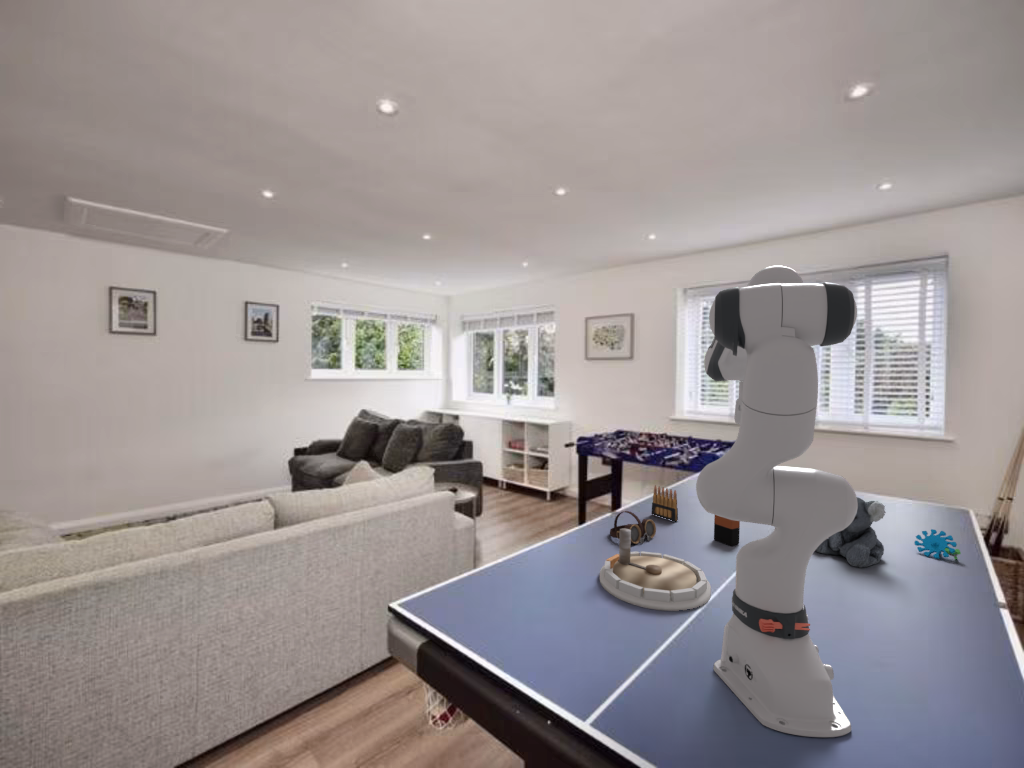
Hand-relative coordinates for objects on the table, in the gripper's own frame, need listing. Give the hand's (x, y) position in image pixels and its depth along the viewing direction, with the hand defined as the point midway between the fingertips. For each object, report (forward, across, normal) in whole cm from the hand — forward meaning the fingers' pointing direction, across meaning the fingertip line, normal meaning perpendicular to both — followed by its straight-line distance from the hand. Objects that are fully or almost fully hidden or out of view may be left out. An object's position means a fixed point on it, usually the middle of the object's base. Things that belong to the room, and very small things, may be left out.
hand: (755, 444), depth 125 cm
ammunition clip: (+37, -54, -9) cm, 66 cm away
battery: (+37, -30, +5) cm, 48 cm away
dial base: (+37, +4, -27) cm, 46 cm away
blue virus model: (+37, -24, +67) cm, 81 cm away
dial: (+35, +4, -27) cm, 45 cm away
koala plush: (+37, -22, +40) cm, 59 cm away
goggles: (+38, -32, -26) cm, 56 cm away
